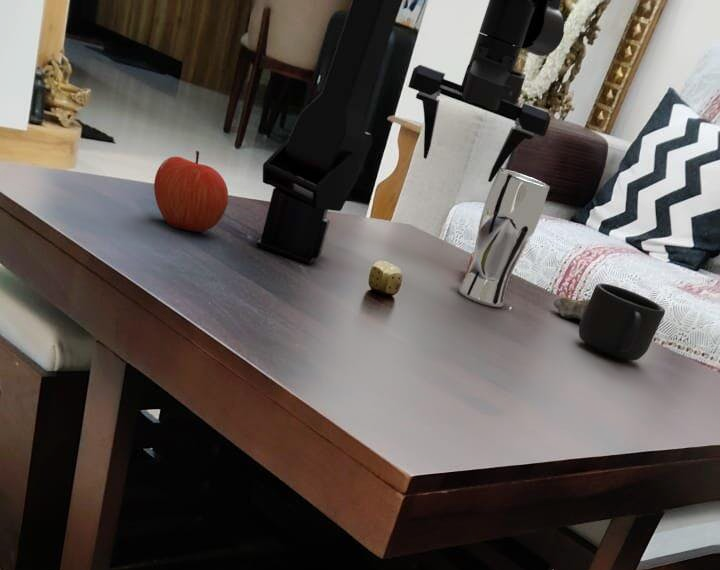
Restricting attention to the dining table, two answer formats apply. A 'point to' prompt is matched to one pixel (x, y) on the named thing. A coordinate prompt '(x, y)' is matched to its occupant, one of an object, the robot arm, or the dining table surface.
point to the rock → (571, 307)
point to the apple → (190, 194)
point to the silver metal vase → (503, 235)
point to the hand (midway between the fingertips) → (457, 169)
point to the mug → (619, 323)
